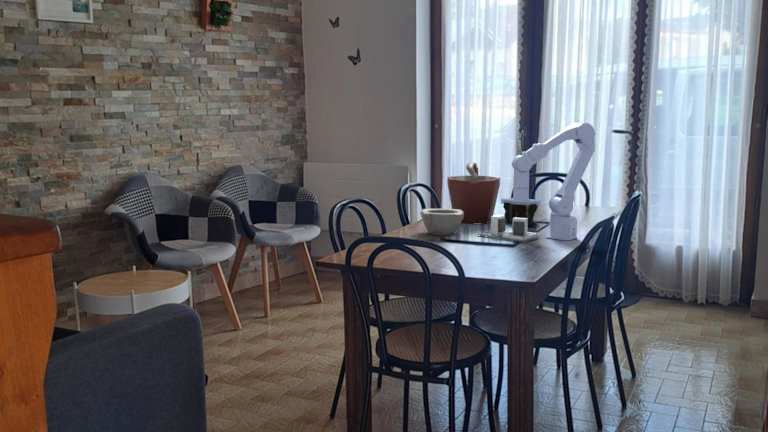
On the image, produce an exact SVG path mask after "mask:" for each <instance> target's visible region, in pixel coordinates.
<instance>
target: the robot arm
mask: <svg viewBox="0 0 768 432" xmlns="http://www.w3.org/2000/svg"><path fill="white" fill-rule="evenodd" d="M596 134H597V133H596V130H595V129H594V127H593V125H592V124H590V123H589V122H579V121H575V122H573V123H572V124H570V125H568V126H566V127H565V128H563V129H562V130H561V131H559V132H558V133H556V134H555V135H554V136H552V137H551V138H550V139H548V140H547V141H544V143H539V142H538V143H533V144H532V147H530V148H528V149H527V150H526V151H522V152H521V154H518V155H516V156H514V158H513V160H512V162H511V167H512V168H513V181H512V182H513V186H512V187H513V188H512V190H513V193H512V197H511V198H509V197H508V198H507V197H506V198H505V197H502V198H501V199H500V204H501V205H502V207H503V208H504V211H506V214H507V217H508V222H509V223H512V206H513V204H520V205H531V206H529V224H528V225H529V226H530V225H532V223H533V222H532V220H533V221H534V218H533V217H535V213H536V211H537V209H538V208H539V207H541V205H542V201H541V199H535V198H534V199H532V198H529V195H530V170H531V169H532V167H533V166H534V165H536V164H537V163H538V162H540V161H542V160H543V159H545V158H546V157H547V156H548V155H549V151H551V150H553V149H555V148H556V147H558V146H559V145H561V144H563V143H564V142H566V141H575V144H576V146H577V148H578V150H577V153H576V155H575V157H574V160H573V161H572V164H571V166H570V168H569V170H568V172H567V174H566V177H565V179H564V180H563V183H562V185H561V187H560V188H559V189H558V190H557V191H556V192H555V194H554V195H553V196H552V197H551V198H550V199H549V201H548V207H549V208H550V210H551V212H550V220H549V221H550V225H549V227H550V228H549V235H546V236H545V238H546V239H553V240H561V241H572V240H574V239H577V238H578V236H577V235H578V230H577V229H578V219H577V217H576V216H574V215H573V216H572V215H571V213H572V211H573V209H574V202H575V198H576V197H575V192H576V191H577V188H578V186H579V184H580V182H581V180H582V178H583V176H584V174H585V172H586V169H587V168H588V166H589V164H590V162H591V159H592V157H593V154H594V153H595V150H596V144H595V143H596V142H595V139H596V138H595V137H596ZM515 202H518V203H515Z"/></svg>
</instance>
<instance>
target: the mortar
mask: <svg viewBox="0 0 768 432" xmlns="http://www.w3.org/2000/svg"><path fill="white" fill-rule="evenodd" d="M420 215H421V220H422V222H423V224H424V227H425V228H426V230H427V232H428V233H429V234H430V235H434V236H450V235H453V234H454V233H455V232H456V231H457V230H458V228H459V226H460V225H461V224H462V223H461V221H462V220H463V218H464V212H463V211H462V210H460V209H452V208H423V209H422V210H420Z"/></svg>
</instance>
